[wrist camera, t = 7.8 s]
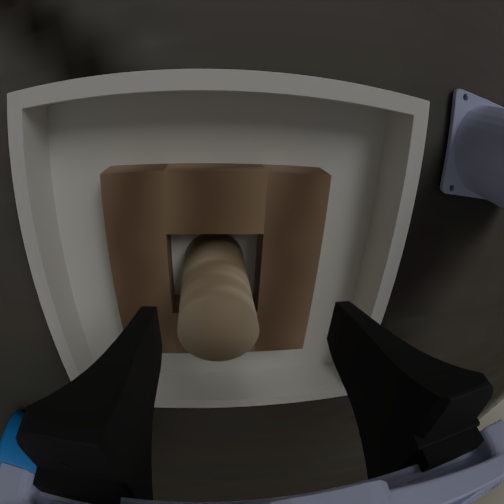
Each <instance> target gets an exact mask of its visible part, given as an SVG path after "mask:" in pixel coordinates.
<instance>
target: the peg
mask: <svg viewBox="0 0 504 504" xmlns="http://www.w3.org/2000/svg"><path fill="white" fill-rule="evenodd" d="M177 334H178V339H179V341H180V343H181V345H182V346H183V347H184V349H185V350H186V351H188V352H189V353H190V354H192V355H193V356H195V357H197V358H200V359H203V360H207V361H228V360H232V359H235V358H237V357H240V356H242V355H243V354H245V353H246V352H248V351H249V350H250V349H251V348H252V347H253V346H254V344H255V343H256V341H257V339H258V336H259V323H258V319H257V314H256V310H255V306H254V301H253V297H252V292H251V288H250V284H249V279H248V275H247V270H246V266H245V261H244V257H243V252H242V249H241V247H240V245H239V243H238V242H237V241H236V240H235V239H234V238H233V237H231V236H230V235H228V234H201V235H199V236H197V237H196V238H194V239H193V240H192V241H191V242H190V244H189V245H188V247H187V249H186V252H185V259H184V267H183V276H182V285H181V295H180V305H179V315H178V326H177Z"/></svg>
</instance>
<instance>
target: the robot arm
mask: <svg viewBox="0 0 504 504" xmlns="http://www.w3.org/2000/svg"><path fill="white" fill-rule="evenodd" d="M463 95H464V99H463ZM450 186H451V189H450ZM440 190H441V191H442V192H443V193H445V194H452V195H459V196H466V197H473V198H480V199H486V200H488V201H490V202H492V203H494V204H496V205H497V206H499V207H501V208H503V209H504V107H502V106H499V105H497V104H495V103H493V102H491V101H488V100H486V99H484V98H482V97H479V96H477V95H475V94H472V93H470V92H467V91H465V90H462V89H455V90H454V92H453V101H452V111H451V120H450V128H449V135H448V142H447V149H446V155H445V161H444V167H443V173H442V178H441V183H440ZM327 342H328V346H329V350H330V353H331V357H332V360H333V362H334V365H335V367H336V369H337V372H338V374H339V376H340V379H341V381H342V383H343V385H344V388H345V390H346V392H347V395H348V397H349V399H350V402H351V405H352V407H353V411H354V414H355V418H356V421H357V425H358V429H359V433H360V437H361V441H362V446H363V451H364V456H365V461H366V467H367V474H368V480H365V481H361V482H357V483H353V484H349V485H345V486H340V487H336V488H331V489H326V490H321V491H316V492H310V493H305V494H298V495H292V496H285V497H277V498H268V499H258V500H245V501H228V502H172V501H155V500H153V493H152V469H151V440H152V418H153V410H154V404H155V398H156V393H157V387H158V381H159V376H160V370H161V361H162V339H161V333H160V326H159V319H158V312H157V306H142V307H141V308H139V310H138V311H137V313H136V314H135V315H134V317H133V318H132V319H131V321H130V322H129V323H128V325H127V326H126V327H125V329H124V330H123V331H122V332H121V334H120V335H119V336H118V337H117V339H116V340H115V341H114V342H113V343H112V344H111V345H110V347H109V348H108V349H107V350H106V351H105V352H104V353H103V354H102V355H101V356H100V357H99V358H98V359H97V360H96V361H95V362H94V363H93V364H92V365H91V366H90V367H89V368H88V369H86V370H85V371H84V372H83V373H81V374H80V375H79V376H78V377H76V378H75V379H74V380H72V381H71V382H70V383H68V384H67V385H65V386H64V387H62V388H61V389H59V390H57V391H56V392H54V393H52V394H51V395H49V396H47V397H45V398H43V399H41V400H39V401H37V402H35V403H33V404H31V405H29V406H27V408H26V410H25V412H24V415H23V417H22V420H21V423H20V426H19V429H18V432H17V435H16V441H17V444H18V445H19V447H20V448H21V450H22V451H23V452H24V453H25V454H26V455H27V456H28V457H29V459H30V460H31V461H32V462H33V463H34V464H35V465H36V466H37V469H36V473H35V474H34V473H33V472H31V471H29V470H27V469H24V468H21V467H18V466H15V465H11V464H8V463H6V462H2V463H1V467H0V504H469V503H471V502H473V501H474V500H476V499H477V498H479V497H481V496H483V495H484V494H486V493H487V492H489V491H491V490H492V489H494V488H495V487H496V486H497V485H498V484H500V483H501V482H502V481H504V422H503V420H499V421H497V422H495V423H493V424H491V425H489V426H488V427H486V428H484V429H483V430H482V431H479V430H478V428H477V426H479V424H480V422H479V420H478V419H477V416H478V415H479V413H480V412H481V411H482V410H483V408H484V407H485V406H486V404H487V403H488V401H489V400H490V398H491V396H492V394H493V387H492V385H491V384H490V382H489V381H488V380H487V378H486V377H485V375H484V374H483V373H479V372H475V371H471V370H467V369H463V368H460V367H457V366H454V365H451V364H448V363H446V362H443V361H441V360H438V359H436V358H434V357H432V356H430V355H427V354H425V353H423V352H421V351H420V350H418V349H416V348H414V347H413V346H411V345H409V344H407V343H406V342H404V341H403V340H401V339H400V338H398V337H397V336H395V335H394V334H392V333H391V332H389V331H388V330H387V329H385V328H384V327H383V326H381V325H380V324H379V323H377V322H376V321H375V320H373V319H372V318H371V317H369V316H368V315H367V314H366V313H364V312H363V311H362V310H361V309H359V308H358V307H357V306H355V305H354V304H353V303H351V302H350V301H340V302H335V306H334V310H333V315H332V319H331V323H330V327H329V331H328V335H327Z"/></svg>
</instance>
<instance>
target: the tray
mask: <svg viewBox="0 0 504 504" xmlns="http://www.w3.org/2000/svg"><path fill="white" fill-rule="evenodd" d="M429 105H430V101H427V100H423V99H420V98H416V97H413V96H409V95H405V94H401V93H397V92H393V91H389V90H384V89H380V88H375V87H371V86H366V85H361V84H356V83H350V82H345V81H339V80H333V79H327V78H320V77H313V76H305V75H297V74H288V73H278V72H266V71H252V70H232V69H170V70H150V71H136V72H124V73H115V74H106V75H98V76H91V77H84V78H77V79H71V80H66V81H60V82H55V83H50V84H45V85H40V86H35V87H31V88H27V89H23V90H19V91H15V92H11V93H7V118H8V138H9V151H10V162H11V171H12V179H13V186H14V193H15V200H16V206H17V211H18V217H19V222H20V227H21V232H22V237H23V241H24V246H25V250H26V254H27V258H28V262H29V266H30V269H31V273H32V277H33V280H34V284H35V287H36V290H37V294H38V297H39V300H40V303H41V306H42V309H43V312H44V315H45V318H46V321H47V324H48V327H49V329H50V332H51V335H52V337H53V340H54V343H55V345H56V348H57V350H58V353H59V355H60V358H61V360H62V362H63V365H64V367H65V369H66V372H67V374H68V376H69V378H70V381H72V380H74V379H75V378H76V377H78V376H79V375H80V374H81V373H83V372H84V371H85V370H86V369H88V368H89V367H90V366H91V365H92V364H93V363H94V362H95V361H96V360H97V359H98V358H99V357H100V356H101V355H102V354H103V353H104V352H105V351H106V350H107V349H108V348H109V347H110V345H111V344H112V343H113V342H114V341H115V340H116V339H117V337H118V336H119V335H120V334H121V332H122V331H123V327H122V323H121V318H120V314H119V309H118V304H117V299H116V294H115V288H114V283H113V277H112V271H111V265H110V259H109V252H108V246H107V238H106V231H105V223H104V214H103V205H102V194H101V183H100V174H101V173H102V172H103V171H104V170H106V169H107V168H108V167H110V166H118V165H139V164H173V163H233V164H268V165H289V166H307V167H320V168H321V169H323V170H324V171H326V172H327V173H329V174H330V175H332V176H331V184H330V191H329V199H328V206H327V213H326V220H325V227H324V233H323V240H322V246H321V253H320V259H319V265H318V271H317V276H316V282H315V288H314V293H313V299H312V304H311V309H310V315H309V320H308V325H307V330H306V335H305V340H304V345H303V349H291V350H276V351H258V352H246V353H245V354H243V355H242V356H240V357H237V358H235V359H232V360H228V361H207V360H203V359H200V358H197V357H195V356H193V355H192V354H190V353H162V361H161V370H160V376H159V381H158V387H157V393H156V398H155V404H154V407H161V408H221V407H244V406H260V405H273V404H284V403H294V402H303V401H311V400H319V399H326V398H333V397H339V396H346V395H347V392H346V390H345V388H344V385H343V383H342V381H341V379H340V376H339V374H338V372H337V369H336V367H335V365H334V362H333V360H332V357H331V353H330V350H329V346H328V342H327V335H328V331H329V327H330V323H331V319H332V315H333V310H334V306H335V302H340V301H350V302H351V303H353V304H354V305H355V306H357V307H358V308H359V309H361V310H362V311H363V312H364V313H366V314H367V315H368V316H369V317H371V318H372V319H373V320H375V321H376V322H377V323H379V324H380V325H381V322H382V319H383V317H384V313H385V310H386V307H387V304H388V301H389V298H390V295H391V292H392V288H393V285H394V282H395V278H396V275H397V271H398V268H399V264H400V260H401V257H402V253H403V249H404V245H405V241H406V237H407V233H408V229H409V225H410V220H411V216H412V211H413V207H414V202H415V197H416V192H417V187H418V182H419V176H420V171H421V165H422V159H423V153H424V146H425V139H426V131H427V124H428V115H429ZM199 235H201V234H171V248H172V264H173V278H174V291H175V295H181V285H182V276H183V267H184V259H185V252H186V249H187V247H188V245H189V244H190V242H191V241H192V240H193V239H194V238H196V237H197V236H199ZM228 235H230V236H231V237H233V238H234V239H235V240H236V241H237V242H238V243H239V245H240V247H241V249H242V252H243V257H244V261H245V266H246V270H247V275H248V279H249V284H250V288H251V292H252V294H253V292H254V278H255V263H256V248H257V234H228Z"/></svg>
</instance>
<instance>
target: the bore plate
mask: <svg viewBox="0 0 504 504" xmlns="http://www.w3.org/2000/svg"><path fill="white" fill-rule="evenodd" d="M331 176H332V175H330V174H329V173H327V172H326V171H324V170H323V169H321V168H320V167H307V166H289V165H268V164H233V163H173V164H139V165H118V166H110V167H108V168H107V169H106V170H104V171H103V172H102V173H101V174H100V183H101V194H102V205H103V214H104V223H105V231H106V238H107V246H108V252H109V259H110V265H111V271H112V277H113V283H114V288H115V294H116V299H117V304H118V309H119V314H120V318H121V323H122V327H123V330H124V329H125V327H126V326H127V325H128V323H129V322H130V321H131V319H132V318H133V317H134V315H135V314H136V313H137V311H138V310H139V308H141V307H142V306H157V312H158V319H159V326H160V333H161V339H162V353H189V352H188V351H186V350H185V349H184V347H183V346H182V345H181V343H180V341H179V339H178V334H177V326H178V315H179V305H180V295H175V291H174V278H173V264H172V248H171V234H257V248H256V263H255V278H254V292H253V294H252V297H253V301H254V306H255V310H256V314H257V319H258V323H259V336H258V339H257V341H256V343H255V344H254V346H253V347H252V348H251V349H250V350H249V351H248V352H258V351H276V350H291V349H303V345H304V340H305V335H306V330H307V325H308V320H309V315H310V309H311V304H312V299H313V293H314V288H315V282H316V276H317V271H318V265H319V259H320V253H321V246H322V240H323V233H324V227H325V220H326V213H327V206H328V199H329V191H330V184H331Z"/></svg>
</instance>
